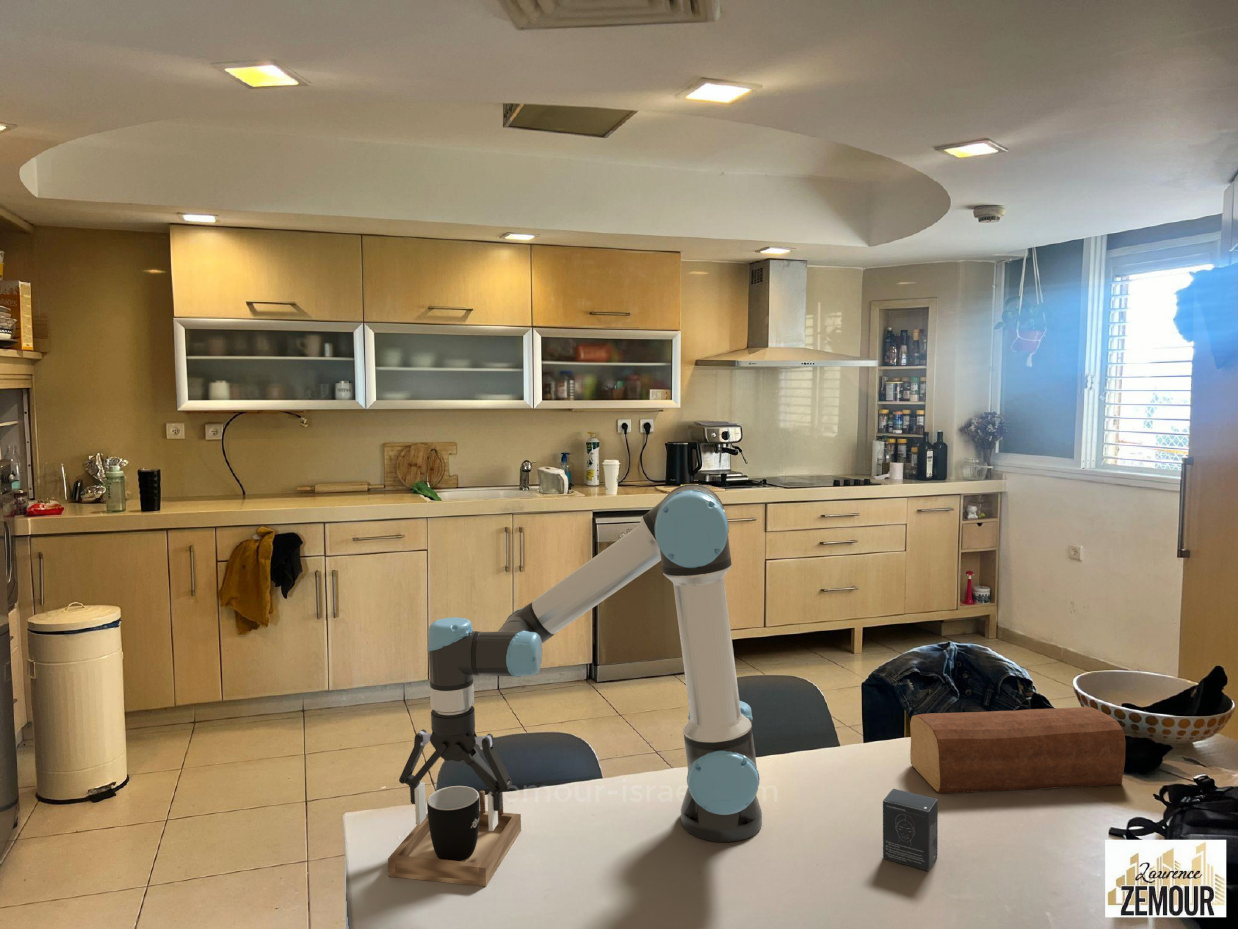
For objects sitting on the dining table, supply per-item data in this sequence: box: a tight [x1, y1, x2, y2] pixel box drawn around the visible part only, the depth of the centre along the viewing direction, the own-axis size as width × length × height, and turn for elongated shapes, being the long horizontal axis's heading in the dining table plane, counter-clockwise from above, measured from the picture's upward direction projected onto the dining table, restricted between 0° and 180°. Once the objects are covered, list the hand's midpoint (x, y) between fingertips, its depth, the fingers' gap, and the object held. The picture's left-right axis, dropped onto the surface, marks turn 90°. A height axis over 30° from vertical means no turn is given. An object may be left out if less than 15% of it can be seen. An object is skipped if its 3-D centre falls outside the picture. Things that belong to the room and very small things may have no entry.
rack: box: [387, 790, 522, 887], centre depth 153 cm, size 17×18×7 cm
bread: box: [909, 706, 1126, 794], centre depth 178 cm, size 16×39×13 cm, turn 94°
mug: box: [426, 785, 480, 861], centre depth 152 cm, size 12×9×10 cm
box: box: [882, 788, 939, 872], centre depth 148 cm, size 8×6×11 cm
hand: (457, 824), depth 152 cm, fingers open, 13 cm apart
